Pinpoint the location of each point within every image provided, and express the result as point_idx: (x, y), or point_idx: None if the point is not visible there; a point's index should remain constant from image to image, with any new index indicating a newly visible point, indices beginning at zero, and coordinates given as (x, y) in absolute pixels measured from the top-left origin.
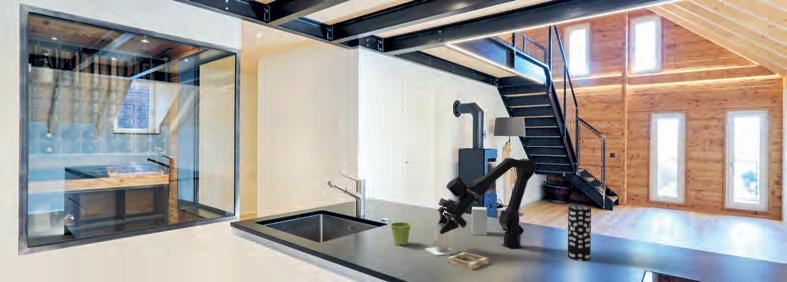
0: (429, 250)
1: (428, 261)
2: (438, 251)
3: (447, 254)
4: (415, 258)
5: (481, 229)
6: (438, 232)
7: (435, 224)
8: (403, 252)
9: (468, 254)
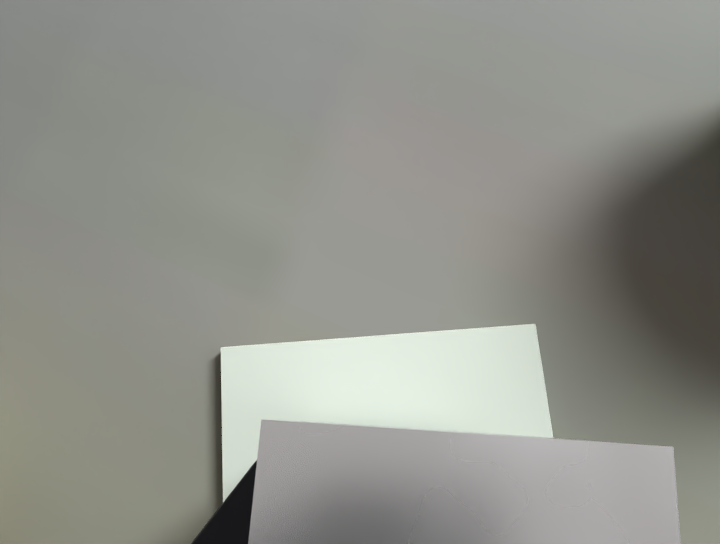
0: (425, 340)
1: (85, 183)
2: None
3: None
4: (234, 97)
5: None
6: (284, 420)
7: (560, 445)
8: (476, 57)
9: None
